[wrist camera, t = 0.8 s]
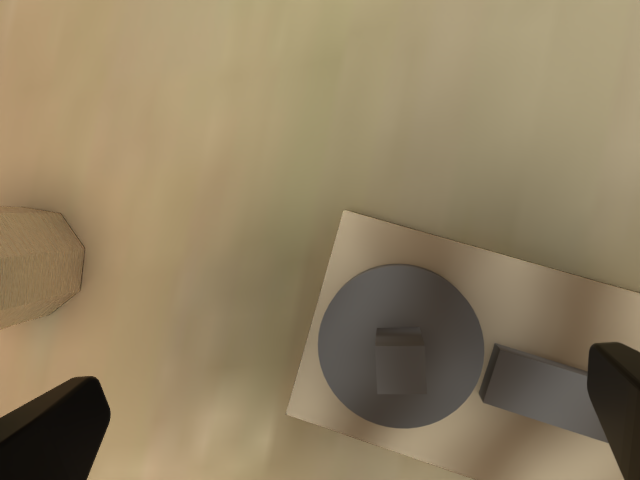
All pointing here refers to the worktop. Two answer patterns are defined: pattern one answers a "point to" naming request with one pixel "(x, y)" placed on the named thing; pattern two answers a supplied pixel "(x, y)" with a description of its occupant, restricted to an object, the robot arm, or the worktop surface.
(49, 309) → the silver cylindrical piece
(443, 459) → the board
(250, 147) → the worktop surface
